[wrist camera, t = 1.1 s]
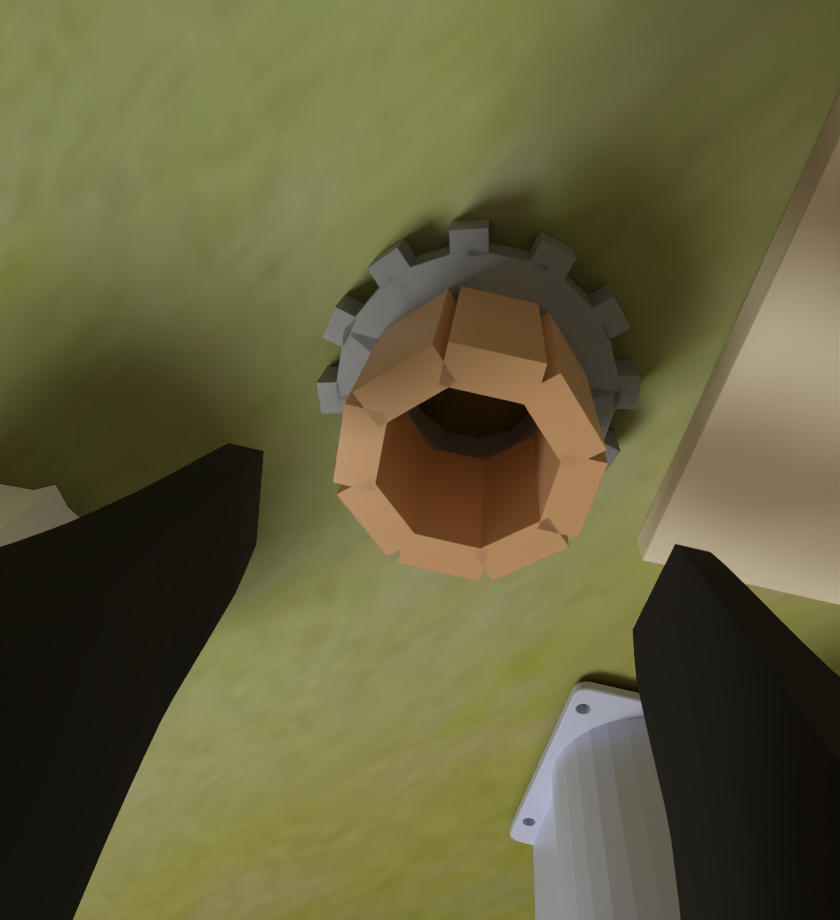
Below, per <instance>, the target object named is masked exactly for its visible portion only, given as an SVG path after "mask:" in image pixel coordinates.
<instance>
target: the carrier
mask: <svg viewBox="0 0 840 920" xmlns="http://www.w3.org/2000/svg"><path fill="white" fill-rule="evenodd" d="M637 542H638V545H639V549H640V552H641V556H642V559H643V560H645V561H649V562H654V563H658V564H662V565H665V563H666V561H667V559H668V557H669V555H670V553H671V551H672V549H673V547H674V545H675V544H678V545H682V546H687V547H691V548H696V549H700V550H705V551H709V552H711V553H712V554H714V555H715V556H716V557H717V558H718V559H719V560H720V561H722V562H723V563H724V564H725V565H726V566H727V567H728V568H729V569H730V570H731V571H732V572H733V573H734V574H735V575H736V576H737V577H738V578H739V579H740V580H741V581H742V582H743V583H746V584H751V585H755V586H759V587H764V588H768V589H773V590H777V591H781V592H786V593H790V594H795V595H799V596H804V597H808V598H812V599H817V600H821V601H826V602H830V603H834V604H839V605H840V92H839V94H838V96H837V98H836V101H835V103H834V105H833V107H832V109H831V112H830V114H829V116H828V118H827V121H826V123H825V125H824V127H823V129H822V132H821V134H820V136H819V138H818V140H817V143H816V145H815V147H814V149H813V151H812V154H811V156H810V158H809V160H808V163H807V165H806V167H805V169H804V171H803V174H802V176H801V178H800V180H799V182H798V185H797V187H796V189H795V191H794V193H793V196H792V198H791V200H790V202H789V205H788V207H787V209H786V211H785V213H784V216H783V218H782V220H781V222H780V224H779V227H778V229H777V231H776V233H775V235H774V238H773V240H772V242H771V244H770V247H769V249H768V251H767V253H766V255H765V258H764V260H763V262H762V264H761V266H760V269H759V271H758V273H757V275H756V278H755V280H754V282H753V284H752V286H751V289H750V291H749V293H748V295H747V297H746V300H745V302H744V304H743V306H742V308H741V311H740V313H739V315H738V317H737V320H736V322H735V324H734V326H733V328H732V331H731V333H730V335H729V337H728V339H727V342H726V344H725V346H724V348H723V350H722V353H721V355H720V357H719V359H718V362H717V364H716V366H715V368H714V370H713V373H712V375H711V377H710V379H709V381H708V384H707V386H706V388H705V390H704V392H703V395H702V397H701V399H700V401H699V404H698V406H697V408H696V410H695V412H694V415H693V417H692V419H691V421H690V423H689V426H688V428H687V430H686V432H685V435H684V437H683V439H682V441H681V443H680V446H679V448H678V450H677V452H676V454H675V457H674V459H673V461H672V463H671V465H670V468H669V470H668V472H667V474H666V477H665V479H664V481H663V483H662V485H661V488H660V490H659V492H658V494H657V496H656V499H655V501H654V503H653V505H652V507H651V510H650V512H649V514H648V516H647V519H646V521H645V523H644V525H643V527H642V530H641V532H640V534H639V536H638V538H637Z"/></svg>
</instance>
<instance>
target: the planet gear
mask: <svg viewBox="0 0 840 920" xmlns="http://www.w3.org/2000/svg"><path fill="white" fill-rule="evenodd" d="M449 244H450V245H449V246H446V247H443V248H440V249H437V250H434V251H431V252H428V253H425V254H422V255H419V256H416V255H415V254H414V252H413V251H412V249H411V247H410V246H409V244H408V243H407V241H406V240H405V238H403V239H402V240H400V241H399V242H397V243H396V244H394V245H393V246H391V247H390V248H389V249H387V250H386V251H384V252H383V253H381V254H380V255H378V256H377V257H376V258H375V259H374V260H373V261H372V263H371V264H370V265H369V266H368V268H367V269H368V271H369V272H370V274H371V275H372V277H373V278H374V280H375V281H376V283H377V284H378V285H379V286H378V288H377V289H376V290H375V291H374V292H373V294H372V295H371V296H370V297H369V298H368V299H367V301H366V302H365V303H362V302H360V301H358V300H356V299H354V298H352V297H350V296H348V295H347V294H345V295H344V297H343V298H342V299H341V300H340V302H339V303H338V304H337V305H336V307H335V309H334V311H333V313H332V316H331V318H330V320H329V323H328V325H327V327H326V330H325V332H324V334H323V337H322V338H324V339H326V340H328V341H330V342H332V343H334V344H336V345H338V346H340V347H341V354H340V362H339V366H327V368H326V369H325V371H324V372H323V374H322V375H321V377H320V378H319V380H318V382H317V388H318V395H319V401H320V407H321V414H329V413H341V414H342V417H343V418H342V425H341V431H340V438H339V445H338V452H337V458H336V465H335V472H334V479H333V483H338V484H341V486H340V488H339V490H338V493H337V496H338V497H339V498H340V499H341V501H342V502H343V503H344V504H345V505H346V507H347V508H348V509H349V510H350V512H351V513H352V514H353V515H354V516H355V518H356V519H357V520H358V521H359V523H360V524H361V525H362V526H363V527H364V529H365V530H366V531H367V532H368V534H369V535H370V536H371V537H372V538H373V540H374V541H375V542H376V543H377V545H378V546H379V547H380V548H381V549H382V551H383V552H384V553H385V554H386V556H388V555H390V554H392V553H394V552H396V551H398V550H401V553H400V558H399V562H398V563H401V564H405V565H410V566H414V567H419V568H423V569H427V570H432V571H436V572H441V573H445V574H449V575H454V576H458V577H463V578H467V579H471V580H476V581H480V579H481V575H482V572H483V569H485V570H486V571H487V573H488V574H489V575H490V577H491V578H492V579H493V580H495V579H497V578H500V577H502V576H504V575H506V574H509V573H511V572H513V571H516V570H518V569H520V568H523V567H525V566H527V565H529V564H532V563H534V562H536V561H539V560H541V559H543V558H546V557H548V556H550V555H552V554H555V553H557V552H559V551H562V550H564V549H566V548H568V547H569V544H568V537H567V536H571V537H576V538H579V535H580V533H581V530H582V528H583V525H584V523H585V520H586V518H587V515H588V513H589V510H590V507H591V505H592V502H593V500H594V497H595V495H596V492H597V490H598V487H599V485H600V482H601V480H602V477H603V475H604V472H605V471H606V470H607V468H608V467H609V466H610V465H611V463H612V462H613V461H614V459H615V458H616V457H617V455H618V454H619V453H620V448H619V445H618V442H617V439H616V436H615V433H614V431H613V430H611V429H609V425H610V422H611V420H612V417H613V415H614V412H615V409H638V399H639V389H640V379H641V375H640V373H639V371H638V369H637V367H636V364H635V362H634V360H633V359H614V354H613V350H612V345H611V341H610V339H612V338H614V337H616V336H618V335H619V334H621V333H623V332H625V331H627V330H628V329H630V328H631V327H630V325H629V323H628V321H627V319H626V317H625V315H624V313H623V311H622V309H621V308H620V306H619V304H618V302H617V300H616V298H615V296H614V295H613V293H612V291H611V289H610V287H609V285H608V283H607V284H606V285H604V286H602V287H600V288H599V289H597V290H595V291H594V292H592V293H590V294H588V295H587V294H586V293H585V292H584V291H583V290H582V289H581V288H580V287H579V286H578V285H577V284H576V283H575V282H574V281H573V280H572V279H571V278H570V277H569V276H568V275H567V274H568V272H569V271H570V269H571V267H572V266H573V264H574V263H575V261H576V256H575V254H574V251H573V249H572V248H571V247H569V246H568V245H566V244H564V243H562V242H560V241H558V240H557V239H555V238H553V237H551V236H549V235H547V234H546V233H544V232H542V231H540V232H539V234H538V236H537V238H536V239H535V241H534V243H533V245H532V246H531V248H530V250H529V251H527V250H522V249H518V248H513V247H509V246H504V245H500V244H496V243H491V242H490V228H489V219H484V220H466V221H452V224H451V226H450V229H449ZM448 387H450V388H454V389H458V390H463V391H467V392H472V393H476V394H481V395H485V396H489V397H494V398H498V399H503V400H507V401H512V402H516V403H520V404H524V405H525V407H526V408H527V410H528V412H529V413H528V414H527V415H526V416H525V417H524V418H523V419H522V420H521V421H520V422H518V423H517V424H516V425H515V426H514V427H513V428H512V429H511V430H508V431H504V432H500V433H496V434H492V435H488V436H484V437H480V438H475V437H471V436H466V435H462V434H457V433H453V432H449V431H445V430H444V429H443V428H441V427H440V426H439V425H438V424H437V423H435V422H434V421H433V420H432V419H431V418H430V417H428V416H427V415H426V414H425V413H424V412H422V411H421V410H420V408H419V404H420V403H422V402H424V401H426V400H427V399H429V398H431V397H433V396H434V395H436V394H438V393H440V392H441V391H443V390H445V389H447V388H448Z"/></svg>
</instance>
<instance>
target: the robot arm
mask: <svg viewBox="0 0 840 920" xmlns="http://www.w3.org/2000/svg"><path fill="white" fill-rule="evenodd" d="M262 464H263V451H261V450H256V449H252V448H247V447H243V446H239V445H234V444H230V443H229V444H227V445H224V446H222V447H220V448H218V449H216V450H215V451H213V452H211V453H209V454H207V455H205V456H203V457H202V458H200V459H198V460H196V461H194V462H192V463H191V464H189V465H187V466H185V467H183V468H181V469H180V470H178V471H176V472H174V473H172V474H170V475H168V476H166V477H164V478H162V479H160V480H159V481H157V482H155V483H153V484H151V485H149V486H147V487H145V488H143V489H141V490H139V491H137V492H135V493H133V494H131V495H128V496H126V497H124V498H122V499H120V500H118V501H115V502H113V503H111V504H109V505H107V506H105V507H102V508H100V509H98V510H96V511H94V512H92V513H89V514H87V515H85V516H83V517H80V518H78V519H75V520H73V521H71V522H68V523H66V524H63V525H60V526H58V527H55V528H53V529H50V530H47V531H44V532H42V533H39V534H36V535H33V536H31V537H28V538H25V539H22V540H19V541H16V542H13V543H10V544H7V545H4V546H1V547H0V920H73V918H74V915H75V913H76V911H77V908H78V906H79V904H80V901H81V899H82V896H83V894H84V892H85V889H86V887H87V885H88V882H89V880H90V878H91V875H92V873H93V871H94V868H95V866H96V863H97V861H98V859H99V856H100V854H101V852H102V849H103V847H104V845H105V842H106V840H107V838H108V835H109V833H110V831H111V829H112V827H113V824H114V822H115V820H116V818H117V815H118V813H119V811H120V809H121V806H122V804H123V802H124V800H125V797H126V795H127V793H128V791H129V788H130V786H131V784H132V782H133V779H134V777H135V775H136V773H137V771H138V769H139V767H140V764H141V762H142V760H143V758H144V756H145V754H146V751H147V749H148V747H149V745H150V743H151V741H152V739H153V736H154V734H155V732H156V730H157V728H158V726H159V724H160V722H161V720H162V718H163V716H164V714H165V712H166V711H167V709H168V707H169V705H170V703H171V701H172V699H173V698H174V696H175V694H176V693H177V691H178V689H179V688H180V686H181V684H182V683H183V681H184V679H185V678H186V676H187V674H188V673H189V671H190V669H191V667H192V666H193V664H194V662H195V661H196V659H197V657H198V656H199V654H200V652H201V651H202V649H203V647H204V646H205V644H206V642H207V641H208V639H209V637H210V636H211V634H212V632H213V631H214V629H215V627H216V626H217V624H218V622H219V620H220V619H221V617H222V615H223V614H224V612H225V610H226V608H227V607H228V605H229V603H230V602H231V600H232V598H233V596H234V595H235V593H236V591H237V588H238V586H239V584H240V582H241V579H242V577H243V575H244V572H245V570H246V568H247V565H248V563H249V560H250V558H251V556H252V553H253V551H254V548H255V546H256V539H257V526H258V514H259V501H260V489H261V476H262ZM633 642H634V658H635V668H636V679H637V686H638V691H639V693H637V692H633V691H628V690H624V689H619V688H615V687H611V686H606V685H602V684H597V683H593V682H580V683H578V684H577V685H575V686H574V688H573V689H572V691H571V693H570V696H569V698H568V700H567V702H566V704H565V707H564V709H563V711H562V713H561V715H560V718H559V720H558V722H557V724H556V726H555V729H554V731H553V733H552V735H551V737H550V740H549V742H548V744H547V746H546V748H545V750H544V753H543V755H542V757H541V759H540V761H539V764H538V766H537V768H536V770H535V772H534V775H533V777H532V779H531V781H530V783H529V786H528V788H527V790H526V792H525V794H524V797H523V799H522V801H521V803H520V805H519V808H518V810H517V812H516V814H515V816H514V819H513V821H512V823H511V826H510V835H511V837H512V838H513V839H514V840H516V841H518V842H522V843H527V844H531V845H533V856H534V885H535V914H536V920H840V677H839V676H838V675H837V674H836V673H835V672H833V671H832V670H831V669H830V668H829V667H828V666H827V665H826V664H825V663H824V662H823V661H822V660H821V659H819V658H818V657H817V656H816V655H815V654H814V653H813V652H812V651H811V650H810V649H809V648H808V647H807V646H806V645H805V644H804V643H803V642H802V641H801V640H800V639H799V638H798V637H797V636H796V635H795V634H794V633H793V632H792V631H791V630H790V629H789V628H788V627H787V626H786V625H785V624H784V623H783V622H782V621H781V620H780V619H779V618H778V617H777V616H776V615H775V614H774V613H773V612H772V611H771V610H770V609H769V608H768V607H767V606H766V605H765V604H764V603H763V602H762V601H761V600H760V599H759V598H758V597H757V596H756V595H755V594H754V593H753V592H752V591H751V590H750V589H749V588H748V587H747V586H746V585H745V584H744V583H743V582H742V581H741V580H740V579H739V578H738V577H737V576H736V575H735V574H734V573H733V572H732V571H731V570H730V569H729V568H728V567H727V566H726V565H725V564H724V563H723V562H722V561H720V560H719V559H718V558H717V557H716V556H715V555H714V554H712V553H711V552H709V551H705V550H700V549H696V548H691V547H687V546H682V545H678V544H675V545H674V547H673V549H672V551H671V553H670V555H669V557H668V559H667V561H666V563H665V565H664V568H663V570H662V572H661V574H660V576H659V578H658V580H657V582H656V584H655V586H654V588H653V590H652V592H651V594H650V596H649V598H648V600H647V602H646V604H645V606H644V608H643V610H642V612H641V614H640V616H639V618H638V620H637V622H636V624H635V626H634V628H633ZM579 704H585V705H579Z"/></svg>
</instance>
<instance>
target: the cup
mask: <svg viewBox="0 0 840 920" xmlns="http://www.w3.org/2000/svg"><path fill="white" fill-rule="evenodd" d="M78 518H79V517H78V516H77V515H76V514H75V513H74V512H73V511H72V510H70V509H69V508H68V506H67V504H66V503H65V501H64V499H63V497H62V495H61V494H60V492H59V490H58V488H57V487H56V485H53V486H48V487H44V488H40V489H36V490H31V489H25V488H19V487H14V486H8V485H3V484H0V547H1V546H4V545H7V544H10V543H13V542H16V541H19V540H22V539H25V538H28V537H31V536H33V535H36V534H39V533H42V532H44V531H47V530H50V529H53V528H55V527H58V526H60V525H63V524H66V523H68V522H71V521H73V520H75V519H78Z"/></svg>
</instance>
